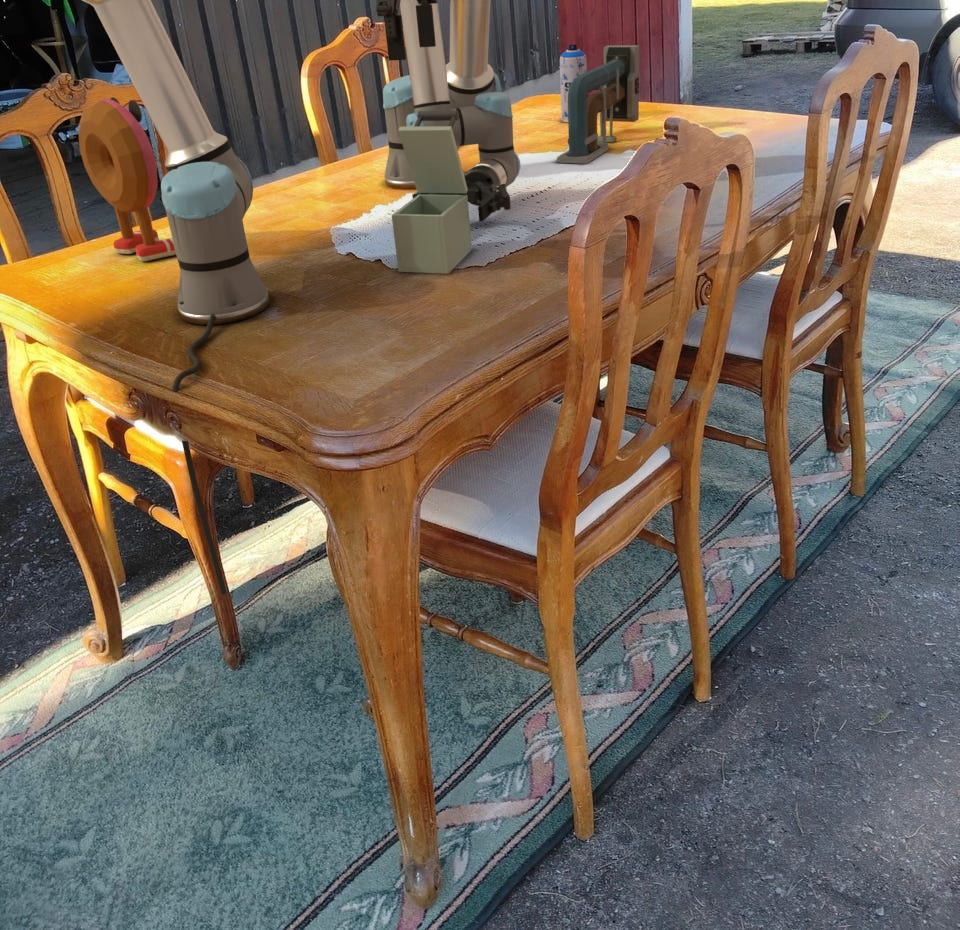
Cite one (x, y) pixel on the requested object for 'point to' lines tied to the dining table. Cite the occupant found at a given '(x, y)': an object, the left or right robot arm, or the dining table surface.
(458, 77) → the right robot arm
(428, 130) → the lid
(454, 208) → the chest
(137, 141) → the toy
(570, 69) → the aerosol can
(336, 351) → the dining table surface
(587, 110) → the clamp
